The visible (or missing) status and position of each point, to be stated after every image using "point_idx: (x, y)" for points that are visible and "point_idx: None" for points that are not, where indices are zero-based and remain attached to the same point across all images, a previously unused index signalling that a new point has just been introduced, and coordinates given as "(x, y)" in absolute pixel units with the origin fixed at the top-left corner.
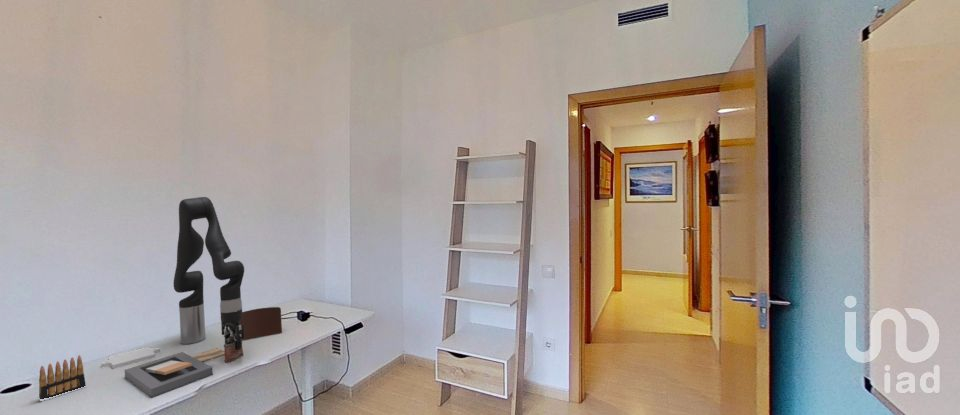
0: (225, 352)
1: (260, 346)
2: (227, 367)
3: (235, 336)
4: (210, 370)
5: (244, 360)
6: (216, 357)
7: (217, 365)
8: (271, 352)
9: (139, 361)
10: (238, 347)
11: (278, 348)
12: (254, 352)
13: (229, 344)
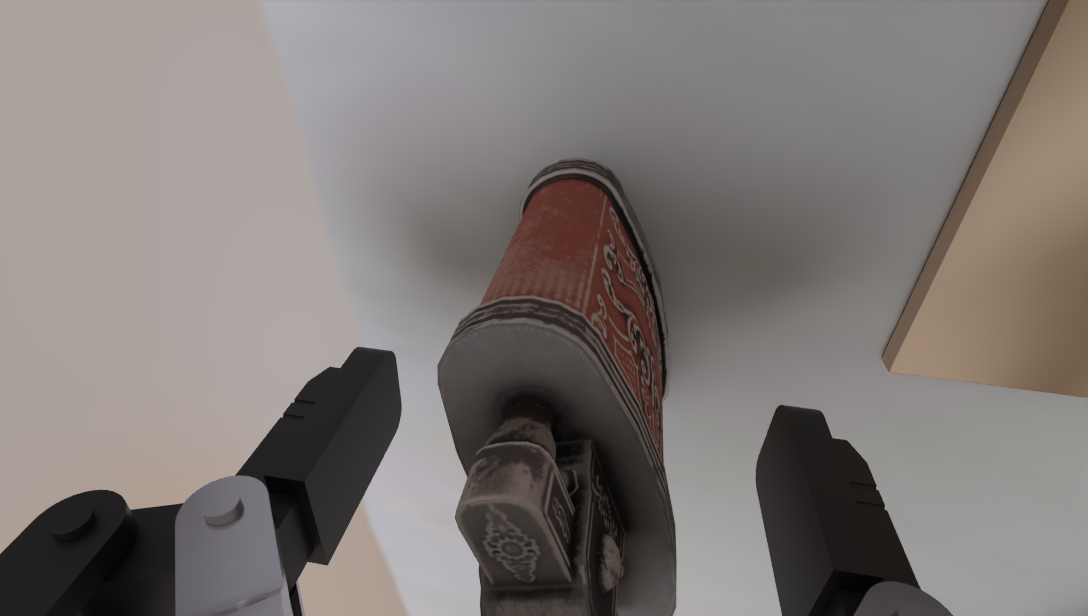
0: (536, 243)
1: None
2: (372, 86)
3: (179, 611)
4: None
5: (417, 309)
6: (948, 219)
7: (603, 51)
8: (385, 503)
9: None
10: (310, 394)
11: (425, 564)
12: None
13: (448, 390)
